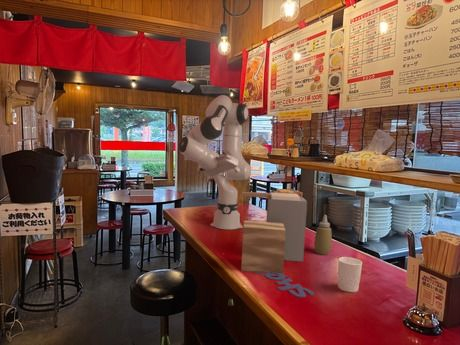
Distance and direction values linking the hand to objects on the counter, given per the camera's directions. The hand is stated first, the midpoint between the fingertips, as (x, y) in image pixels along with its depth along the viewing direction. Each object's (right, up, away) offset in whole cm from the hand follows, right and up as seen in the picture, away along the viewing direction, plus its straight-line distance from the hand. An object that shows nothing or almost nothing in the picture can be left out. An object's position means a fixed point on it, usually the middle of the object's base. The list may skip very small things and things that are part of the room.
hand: (232, 173), depth 162 cm
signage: (+17, -40, -40) cm, 59 cm away
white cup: (+41, -41, -43) cm, 72 cm away
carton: (+23, -37, -11) cm, 45 cm away
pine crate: (+12, -38, -27) cm, 48 cm away
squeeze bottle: (+42, -38, -4) cm, 57 cm away
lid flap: (+17, -11, -13) cm, 24 cm away
